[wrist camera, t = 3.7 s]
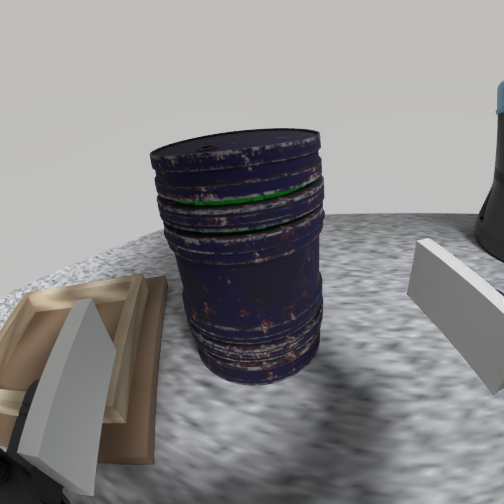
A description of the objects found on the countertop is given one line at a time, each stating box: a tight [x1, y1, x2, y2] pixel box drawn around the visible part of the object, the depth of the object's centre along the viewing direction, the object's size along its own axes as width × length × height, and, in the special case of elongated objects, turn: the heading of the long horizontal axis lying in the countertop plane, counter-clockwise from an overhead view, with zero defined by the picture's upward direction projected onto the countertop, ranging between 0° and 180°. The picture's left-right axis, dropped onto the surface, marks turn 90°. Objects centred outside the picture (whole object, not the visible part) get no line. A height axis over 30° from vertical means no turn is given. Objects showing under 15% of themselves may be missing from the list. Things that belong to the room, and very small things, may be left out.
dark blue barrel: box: [150, 128, 325, 385], centre depth 20 cm, size 10×10×15 cm
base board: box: [0, 274, 168, 464], centre depth 21 cm, size 18×20×3 cm
